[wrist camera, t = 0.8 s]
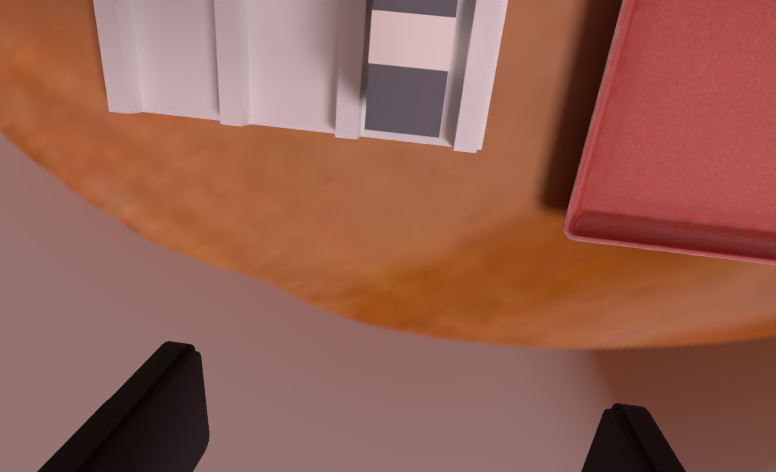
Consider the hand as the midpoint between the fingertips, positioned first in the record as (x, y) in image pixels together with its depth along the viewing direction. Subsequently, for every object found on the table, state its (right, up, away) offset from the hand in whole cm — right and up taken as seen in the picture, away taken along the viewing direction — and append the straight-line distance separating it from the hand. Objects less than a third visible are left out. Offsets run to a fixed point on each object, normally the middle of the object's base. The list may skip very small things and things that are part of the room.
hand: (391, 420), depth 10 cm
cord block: (+2, +16, +17) cm, 24 cm away
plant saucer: (+22, +12, +18) cm, 31 cm away
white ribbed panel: (-6, +19, +18) cm, 26 cm away
